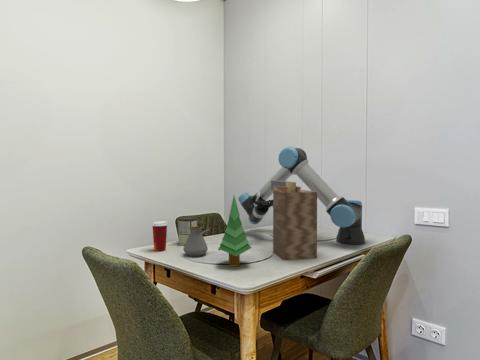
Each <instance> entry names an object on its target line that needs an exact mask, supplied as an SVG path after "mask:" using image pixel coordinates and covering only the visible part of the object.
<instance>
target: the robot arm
mask: <svg viewBox="0 0 480 360" xmlns="http://www.w3.org/2000/svg"><path fill="white" fill-rule="evenodd" d="M278 163H279V165H280V166H281V167H280V169H278V171H277V172H276V173H275V174H274V175H272V177H271V178H269V180H268V181H266V182H265V184H264V185H263V186H262V187H261V188H260V189H259V190H258V191H257V192H256V193H255V194H254V195H251V194H249V192H247V191H246V192H244V193H241V194H240V195H239V196H238V198H237V199H238V202H239V203H240V205H241V207H242V208H243V210H244V211H245V213H246V214H247V215H248V222H249V223H250V224H252V225H258V224H260V222H262V221H263V219H264V217H265V215H266V214H267V213H268V211H269V209H270V208H272V207H273V199H269V198H270V197H271V196H273V191H274V190H271V181H288V179H289V178H291V176H295V175H296V176H297V177H298V178H299V180H300V181H302V183H303V184H304V185H305V187H307V188H308V189H309V191H313V192H317V200H319V201H320V202H321V203H322V204H323V205H324V207H325V211H326V213H327V214H328V215H329V217H330V220H331V223H333V224H334V225H335V226H336V227H339V229H338V231H337V233H336V239H335V240H336V242H337V243H341V244H345V245H362V244H365V243H366V237H365V235H364V231H363V227H362V226H363V224H362V221H363V203H362V201H361V200H354V199H352V200H351V199H346V198H345V197H343V196H339V195H338V194H337V193H336V192H335V191H334V190H333V189H332V188H331V187H330V186H329V185H328V184H327V182H325V181H324V179H323V178H322V177H321V176H320V175H319V174H318V173H317V172H316V171H315V170H314V169H313V168H312V167H311V166H310V165H309V159H308V157H307V152H305V150H303V149H302V148H299V147H293V146H288V147H284V148H283V149H281V150H280V152H279V153H278Z"/></svg>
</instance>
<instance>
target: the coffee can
mask: <svg viewBox="0 0 480 360" xmlns="http://www.w3.org/2000/svg"><path fill="white" fill-rule="evenodd" d="M177 220H178V221H177V222H178V223H177V224H178V227H177V228H178V229H177V230H178V245H179V246H183V247H184V246H185V244H186V241H187V239H188V236H189V234H190V229H189V227H198V217H196V216H181V217H178V218H177Z"/></svg>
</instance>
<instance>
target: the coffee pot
mask: <svg viewBox="0 0 480 360" xmlns="http://www.w3.org/2000/svg"><path fill="white" fill-rule="evenodd" d="M222 224H224V225H226V222H225V220H222V221H219V222H218V223H216V224H214V225H212V226H211V227H208V228H207V229H205V230H203V231H202V229H203V226H197V227H189V229H190V234H189V236H188V239H187V241H186V244H185V246H183V249H182V250H183V252H184V253H185V254H186V255H187V256H188V257H192V256H197V257H201V255H202V256H204V255H205V254H206V253H207V251H208V249H209V248H208V245H207V243H206V241H205V238H204V236H203V235H204V234H206V233H207V232H208V231H210V230H213V229H215V228H217V227H218V226H220V225H222ZM203 254H204V255H203Z"/></svg>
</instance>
